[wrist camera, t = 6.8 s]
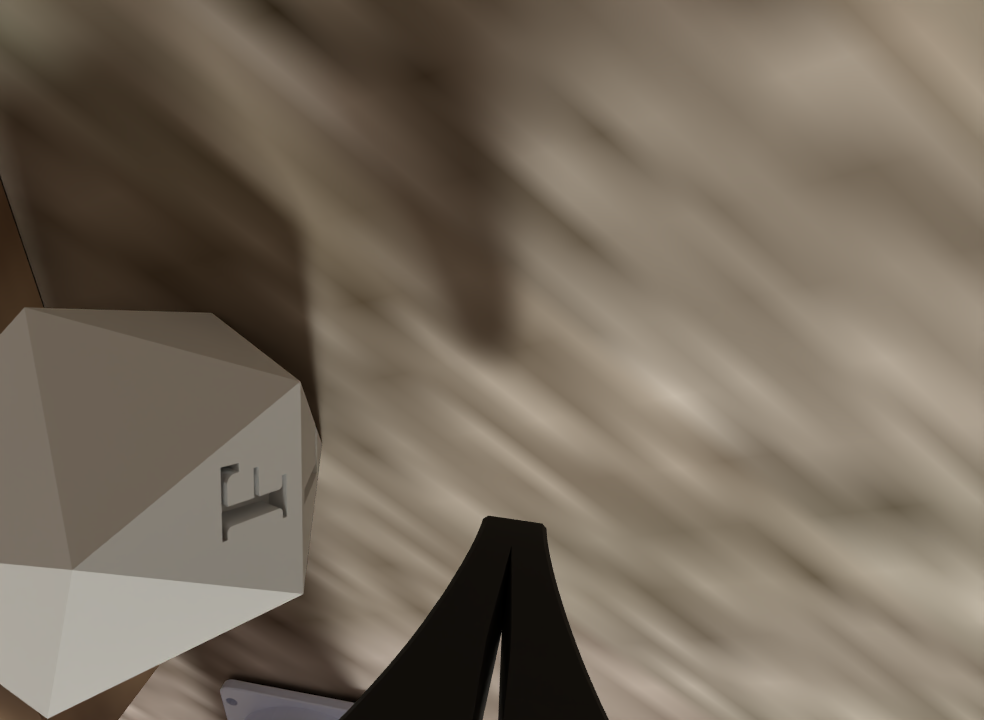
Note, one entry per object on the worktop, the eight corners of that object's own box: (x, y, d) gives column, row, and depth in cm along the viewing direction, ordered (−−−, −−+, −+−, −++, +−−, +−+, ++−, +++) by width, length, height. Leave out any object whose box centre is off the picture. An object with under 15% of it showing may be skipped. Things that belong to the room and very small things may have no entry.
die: (316, 535, 19) (356, 729, 10) (16, 580, 15) (-338, 944, 6) (313, 315, 18) (354, 312, 9) (0, 309, 14) (-416, 295, 6)
